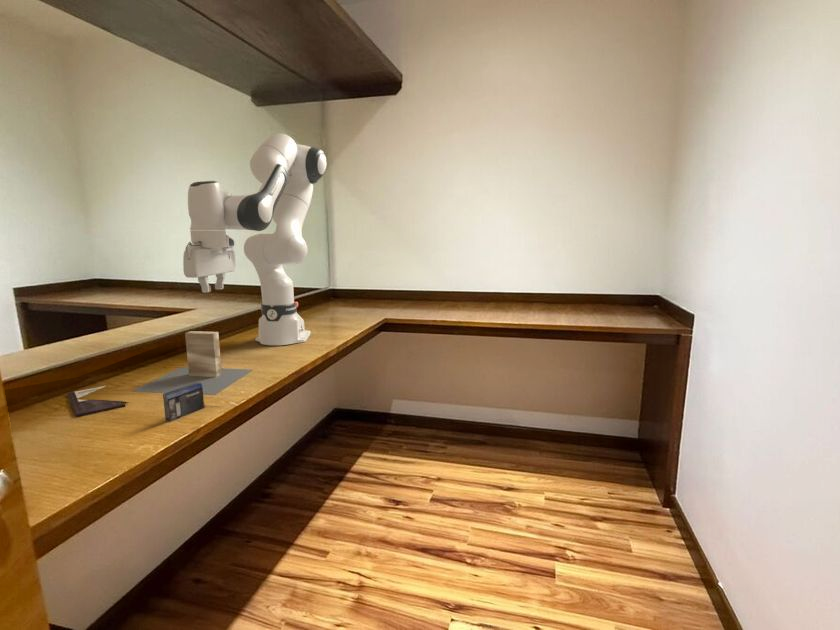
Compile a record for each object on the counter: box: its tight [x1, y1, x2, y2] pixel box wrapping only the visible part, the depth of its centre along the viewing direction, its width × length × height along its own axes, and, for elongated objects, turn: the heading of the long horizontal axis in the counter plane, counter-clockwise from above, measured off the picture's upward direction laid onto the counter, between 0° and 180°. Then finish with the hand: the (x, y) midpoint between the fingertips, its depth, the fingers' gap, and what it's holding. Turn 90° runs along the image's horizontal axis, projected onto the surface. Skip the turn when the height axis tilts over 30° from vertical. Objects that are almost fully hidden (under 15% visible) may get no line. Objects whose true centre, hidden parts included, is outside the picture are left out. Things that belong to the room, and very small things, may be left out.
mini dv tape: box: [162, 382, 205, 423], centre depth 95 cm, size 8×2×6 cm, turn 154°
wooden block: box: [184, 330, 222, 377], centre depth 119 cm, size 3×8×12 cm, turn 84°
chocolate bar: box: [67, 385, 126, 418], centre depth 103 cm, size 9×1×18 cm
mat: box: [130, 366, 254, 396], centre depth 116 cm, size 20×22×1 cm
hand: (213, 290), depth 123 cm, fingers open, 5 cm apart
